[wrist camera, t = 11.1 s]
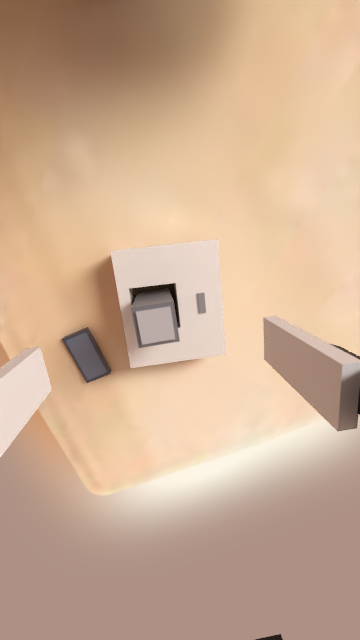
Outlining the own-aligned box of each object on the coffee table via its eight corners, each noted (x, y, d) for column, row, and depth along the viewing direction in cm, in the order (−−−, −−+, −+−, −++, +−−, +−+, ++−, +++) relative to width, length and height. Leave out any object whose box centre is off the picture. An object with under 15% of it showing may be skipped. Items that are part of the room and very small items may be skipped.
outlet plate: (115, 251, 31) (110, 250, 27) (210, 241, 32) (218, 238, 28) (133, 356, 35) (130, 368, 31) (218, 344, 36) (226, 355, 32)
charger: (137, 293, 33) (130, 308, 23) (168, 288, 33) (174, 301, 23) (143, 322, 34) (138, 349, 24) (172, 317, 34) (180, 342, 24)
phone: (64, 336, 34) (61, 339, 33) (88, 326, 34) (86, 328, 33) (89, 379, 36) (87, 383, 34) (111, 370, 36) (110, 373, 34)
